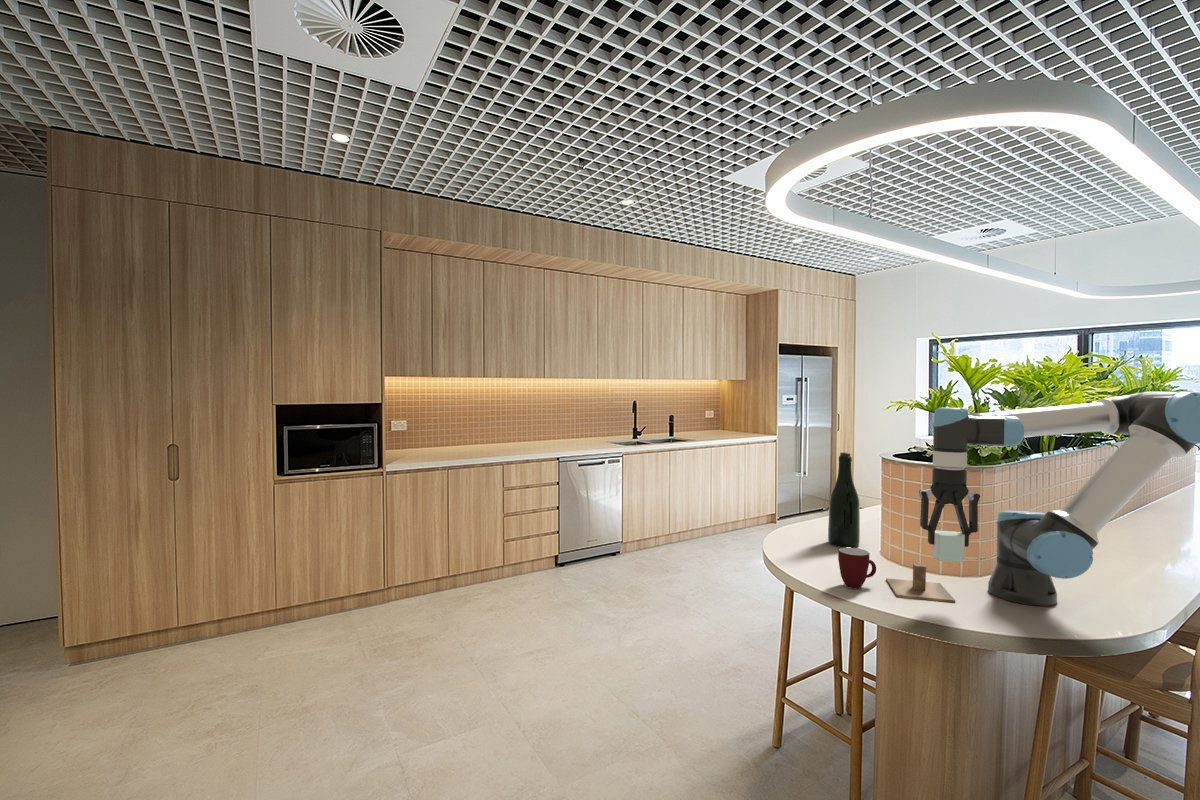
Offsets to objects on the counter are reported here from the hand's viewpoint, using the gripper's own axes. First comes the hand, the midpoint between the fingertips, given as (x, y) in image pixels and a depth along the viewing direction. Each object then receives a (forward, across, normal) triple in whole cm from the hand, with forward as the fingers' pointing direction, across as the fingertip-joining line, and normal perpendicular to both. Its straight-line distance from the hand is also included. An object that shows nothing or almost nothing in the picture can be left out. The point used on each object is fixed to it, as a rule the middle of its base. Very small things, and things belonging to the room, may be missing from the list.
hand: (947, 557), depth 149 cm
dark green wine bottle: (+13, +17, -56) cm, 60 cm away
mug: (+13, +20, -10) cm, 26 cm away
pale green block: (0, 0, 0) cm, 0 cm away
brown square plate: (+13, +4, -11) cm, 17 cm away
